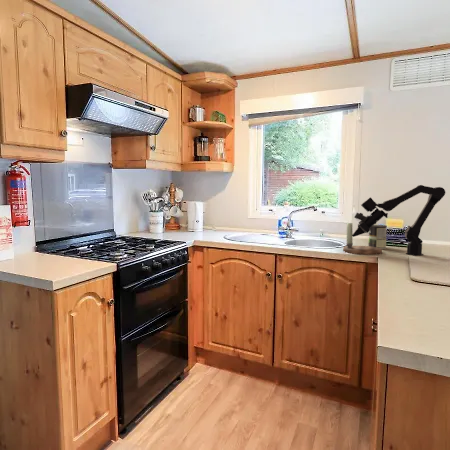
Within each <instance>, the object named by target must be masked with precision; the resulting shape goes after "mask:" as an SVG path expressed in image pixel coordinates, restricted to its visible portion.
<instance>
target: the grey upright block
mask: <svg viewBox="0 0 450 450" xmlns="http://www.w3.org/2000/svg"><path fill="white" fill-rule="evenodd" d="M387 227H388V226H387V225H386V224H385V225H384V224H374V225H373V226H372V227H371V228H370V231H369V232H368V245H367V246H370V247H377V248H381V249H382V250H385V249H387V231H388V230H387Z"/></svg>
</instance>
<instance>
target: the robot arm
mask: <svg viewBox="0 0 450 450" xmlns="http://www.w3.org/2000/svg"><path fill="white" fill-rule="evenodd" d="M421 193H422V194H426V195H428V197H427V202H426V203H425V205H424V207H423V208H422V210H421V211H420V213H419V215H418V216H417V218H416V219H415V221H414V223H413V224H412V225H407V228H406V230H404V237H405V239H406V240H408V243H407V247H406V249H407V250H406V252H405V254H406V255H410V256H424V253H422V252H423V251H422V250H423V239H421V238H420V237H419V236H420V233H421V229H422V227H423V225H424V224H425V222H426V221H427V219H428V217H429V216H430V214H431V212H432V211H433V209H434V207H436V205H437V204H438V203H439V202H440V201H441V200H442V199H443V198H444V197H445V194H446V189H444V188H443V187H441V186H438V187H430V186H426V185H422V184H420V185H419V184H418V185H417V186H416V187H414V188H412V189H410V190H408V191H406V192H404V193H403V194H400V195H398V196H397V197H394V198H391V199H388V200H385V201H383V202H381V203H377V202H376V201H374V199H373V198H372V197H369V198H367V199H366V200H365V201H364V202H362V204H360V205H361V207H362V208H363V209H364V210H365V211H366V212H367V213H368V212H370V214H369V215H366V216H365V215H364V213H362V212H356V213H355V215H354V217H353V218H355V219H358V220H360V221H359V222H358V224H357V228H356V230H355V231H354V232H353V233H352V238H354V237H357V236H360V235H363V234H369V231H370V228H371V227H372V226H373V225H377V222H379V221H380V220H381V219H382V218H383V217H384V218H386V219H388V217H389V216H388V215H389V213H388V212H390V211H392V210H394V209H395V208H396V207H398V206H399V205H400V204H403V203H404V202H405V201H407V200H409V199H411V198H414V197H415V196H417V195H418V194H421Z"/></svg>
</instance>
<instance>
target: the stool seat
mask: <svg viewBox="0 0 450 450" xmlns="http://www.w3.org/2000/svg"><path fill="white" fill-rule="evenodd" d="M342 249H343V250H342V252H344V251H345V252H344V253H346V252H348V253H347V254H351V253H352V255H362V256H375V255H377V256H378V255H381V254H382V255H383V249H381V248H377V247H370V246H368V245H352V244H347V243H346V245H345V246H343V247H342Z"/></svg>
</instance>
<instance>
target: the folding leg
mask: <svg viewBox="0 0 450 450" xmlns="http://www.w3.org/2000/svg"><path fill="white" fill-rule="evenodd" d="M352 235H353V223H352V222H350V223H349V222H347V223H346V245H347V244H352V246H354V245H353V242H354V241H353V236H352Z"/></svg>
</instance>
